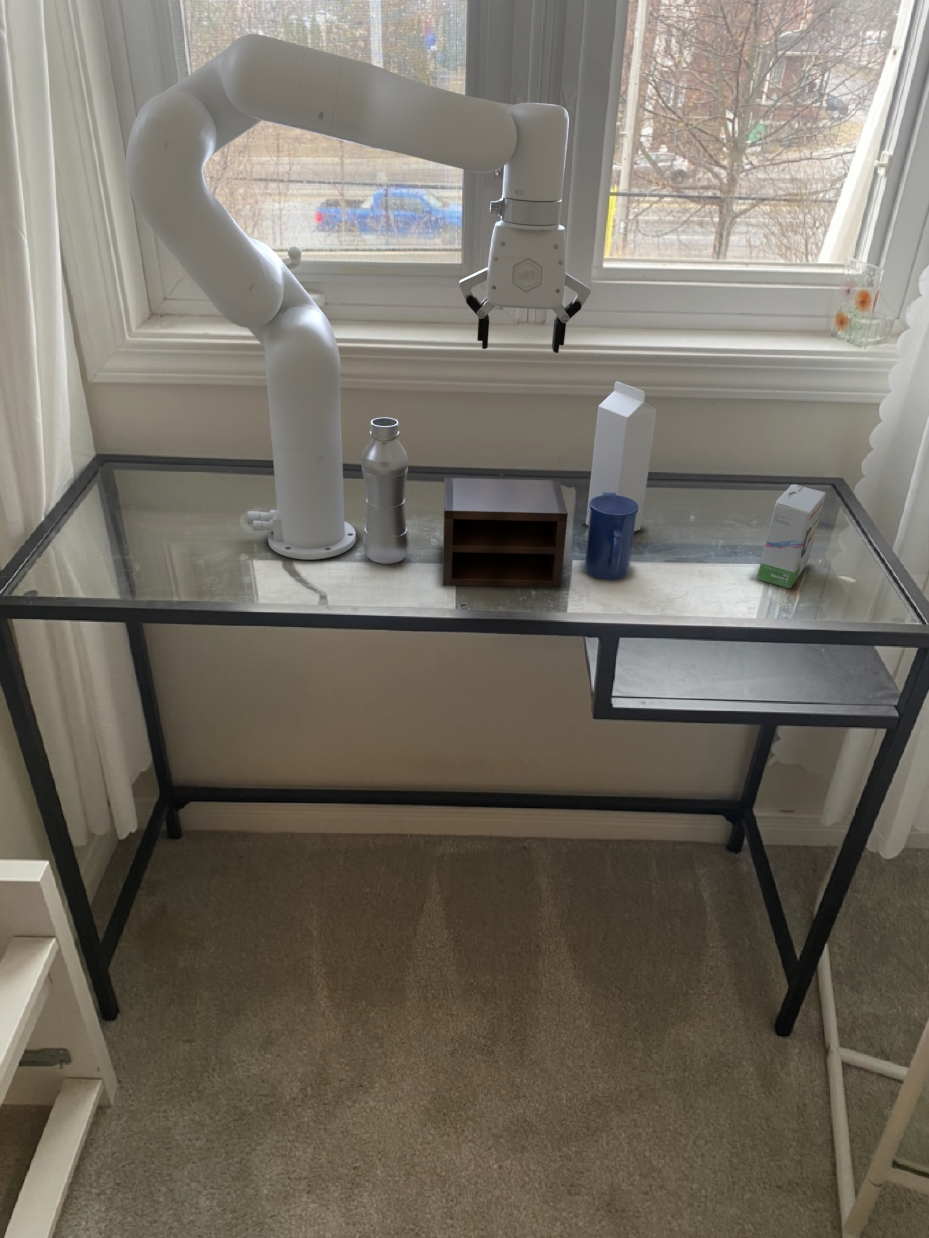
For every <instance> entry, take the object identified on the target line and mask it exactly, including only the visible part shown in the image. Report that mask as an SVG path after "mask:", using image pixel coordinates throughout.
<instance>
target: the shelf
mask: <svg viewBox="0 0 929 1238" xmlns="http://www.w3.org/2000/svg"><path fill="white" fill-rule="evenodd" d="M443 486H444V487H443V488H444V489H443V528H442V529H443V532H442V533H443V534H442V586H469V587H470V586H474V587H476V586H477V587H478V586H479V587H521V588H523V587H524V588H525V587H527V588H528V587H530V588H561V587H562V580H563V579H562V578H563V569H564V557H565V547H566V546H565V545H566V536H567V524H568V515H569V513H568V509H567V505H566V501H565V498H564V493H563V490H562V489H563V488H562V485H561V482H560V480H558V479H557V480H553V479H552V480H551V479H511V478H509V479H508V478H503V479H502V478H472V477H471V478H470V477H469V478H468V477H467V478H466V477H444V484H443Z"/></svg>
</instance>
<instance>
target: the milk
mask: <svg viewBox="0 0 929 1238" xmlns="http://www.w3.org/2000/svg"><path fill="white" fill-rule="evenodd" d="M645 399H646V392H645V390H642V389H641V388H640V389H639V388H636V387H634V386H631V385H629V384H626V383H623V382H620V381H618V380H617V381H616V380H615V382H614V388H613V391H612V392H611V393H610V394H609V395H608V396H607V397H606V398H605V399H604V400H603V401H601V403H599V405H598V407H597V414H596V422H595V423H596V424H595V433H594V444H593V451H592V452H593V454H592V461H591V462H592V464H591V472H590V479H589V490H588V500H587V510H586V517H585V518H586V520H585V525H586V526H588V527H589V518H590V507H589V504H590V500H591V499H592V498H594V497H597V496H601V495H603V492H604V493H616V495H619V496H624V497H627V498H630V499H632V500H634V501H635V502H636V503H637V504H638V506H639V508H638V513H637V514H636V520H635V527H634V532H637V531H639V530H641V528H642V527H641V526H642V521H643V520H642V519H643V512H644V506H645V499H646V491H647V485H648V484H647V483H648V478H649V477H648V476H649V468H650V463H651V462H650V461H651V454H652V450H653V449H652V447H653V441H654V434H655V428H656V427H655V426H656V419H657V412H658V411H657V409H656V408H654V407H653V406H651V405H649V404H648V403H647V402H645Z"/></svg>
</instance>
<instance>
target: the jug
mask: <svg viewBox="0 0 929 1238" xmlns="http://www.w3.org/2000/svg"><path fill="white" fill-rule="evenodd" d="M589 507H590V518H589V526H588V528H587V537H586V547H585V556H584V564H583V565H584V566H583V569H584V572H586V574H587V575H589V576H591V577H593V578H595V579H600V580H603V581H617V580H620V579H621V580H622V579H624V578H626V577H627V576H628V574H629V572H630V563H631V556H632V548H633V542H634V533H635V531H634V527H635V520H636V514H637V513H638V508H639V506H638V504H637V503H636V502H635V501H634V500H632V499H630V498H627V497H624V496H619V495H616V493H604V492H603V495H601V496H597V497H594V498H592V499H591V500H590V504H589Z"/></svg>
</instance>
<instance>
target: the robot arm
mask: <svg viewBox="0 0 929 1238" xmlns="http://www.w3.org/2000/svg"><path fill="white" fill-rule="evenodd" d="M262 121H263V122H267V123H271V124H274V125H279V126H283V127H287V128H291V129H295V130H296V129H297V130H300V131H305V132H308V133H313V134H316V135H321V136H325V137H328V138H332V139H336V140H340V141H343V142H348V143H352V144H356V145H360V146H362V147H367V148H370V149H375V150H382V151H387V152H388V151H389V152H392V153H398V154H402V155H404V156H405V155H406V156H409V157H413V158H416V159H420V160H424V161H428V162H433V163H437V164H440V165H445V166H449V167H452V168H457V169H460V170H465V171H468V172H471V173H472V172H473V173H478V174H489V173H493V172H497V171H498V170H500V169H502V168H503V179H502V195H501V198H499V200H496V201H493V200H492V201H490V206H489V207H490V208H489V213H490V214H495V215H498V217H500V220H499V221H496V222H495V223H494V227H493V230H492V235H491V241H490V248H489V253H488V259H487V267H485V268H483V269H481V270H479V271H477V272H475V273H473V274H471V275H469V276H466V277H465V278H462V279H461V280H459V283H458V285H459V289H460V291H461V293H462V296H463V298H464V300H465V302H466V304H467V306H468V307H469V308H470V309H471V310H472V312H473V313H474V314H475V315H476V316H477V319H478V320H477V321H478V322H477V323H478V324H477V339H476V340H477V342H481V349H482V350H487V349H488V347H489V332H490V331H489V330H490V315H489V313H490V312H492V310H493V309H494V308H495V307H499V308H511V309H513V308H514V309H531V310H552V311H553V312H554V314H555V315H556V317H555V318H554V320H553V329H552V340H551V341H552V342H551V348H552V352H554V354H559V352H560V346H564V345H565V337H566V330H567V329H566V328H567V323H569V321H570V319H572V318H573V317H574V316H575V315H576V314H577V313H579V311H581V309H582V307H583V305H584V304H585V302H586V301H587V299H589V296H590V295H591V288H590V286H588V285H586V284H585V283H583V282H582V281H580V280H578V279H577V278H575V277H573V276H572V275H571V274H569V273H567V271H566V270H567V269H566V268H567V235H566V233H567V232H566V228H565V227H564V226H563V225H561V224H560V221H561V211H562V202H563V190H564V179H565V170H566V169H565V168H566V159H567V158H566V157H567V147H568V136H569V126H570V124H569V123H570V116H569V112H568V111H567V109H566V108H565V107H563V106H561V105H558V104H552V103H541V102H519V103H516V104H512V103H504V102H498V101H493V100H489V99H484V98H481V97H474V96H471V95H467V94H462V93H459V92H455V91H451V90H448V89H444V88H440V87H436V86H433V85H429V84H426V83H422V82H419V81H416V80H413V79H409V78H408V77H407V78H406V77H404V76H402V75H399V74H396V73H394V72H392V71H390V70H388V69H385V68H383V67H380V66H378V65H375V64H371V63H368V62H365V61H361V60H357V59H353V58H350V57H346V56H342V55H338V54H334V53H330V52H327V51H323V50H319V49H315V48H311V47H308V46H304V45H301V44H297V43H294V42H289V41H287V40H282V39H278V38H276V37H271V36H268V35H267V36H266V35H264V34H263V35H262V34H258V33H249V34H245V35H242V36H240V37H238V38H237V39H235V40H234V41H233V42H232V43H231V44H230V45H229V46H228V47H226V48H225V49H224V50H223V51H221V52H220V53H219V54H218V55H216V56H215V57H213V58H212V59H211V60H209V61H208V62H206V63H205V64H204V65H202V66H201V67H199V68H197V69H196V70H194V71H193V72H191V73H190V74H188V75H187V76H186V77H184V78H183V79H181V80H180V81H178V82H176V83H175V84H173V85H172V86H171V87H169V88H167V89H165V90H164V91H163V92H161V93H159V94H155V96H153V97H151V98H150V99H148V100H147V102H145V103H144V105H142V107H141V108H140V110H139V112H138V114H137V116H136V117H135V120H134V122H133V124H132V127H131V130H130V134H129V137H128V141H127V146H126V152H125V172H126V178H127V184H128V187H129V191H130V194H131V196H132V197H131V198H132V199H133V201H134V203H135V205H136V207H137V210H138V212H139V213H140V214H141V217H142V218H143V219H144V220H145V222H146V224H147V225H148V226H149V227H150V229H151V230H152V231H153V233H154V234H155V235H156V236H157V237H158V239H159V240H160V241H161V242H162V244H163V245H164V246H165V247H166V249H167V250H168V251H169V252H170V253H171V254H172V256H173V257H174V258H175V260H176V261H177V262H178V263H179V265H180V266H181V267H182V268H183V270H185V272H186V273H187V275H189V277H190V278H191V279H192V280H193V282H195V284H196V286H198V288H199V289H200V290H201V291H202V292H203V294H205V296H206V297H207V298H208V299H209V301H210V302H211V304H212V305H213V306H214V308H215V309H216V310H217V311H218V313H220V314H221V316H222V317H224V318H225V320H227V321H229V322H230V323H232V324H233V325H236V326H239V327H241V328H246V329H248V330H249V332H250V333H251V334H252V335H253V336H254V337H255V339H256V340H257V341H258V342H259V343H260V345H262V347H263V348H264V364H265V365H264V366H265V367H264V369H265V379H266V389H267V391H266V392H267V400H268V401H267V402H268V413H269V425H270V426H269V427H270V439H271V446H272V447H271V448H272V449H271V450H272V461H273V462H272V463H273V474H274V476H273V477H274V488H275V503H276V509H270V510H269V511H267V512H266V511H258V510H257V511H251V510H249V511H247V516H246V519H247V525H249V526H250V525H252V530H253V531H262V532H263V531H269V532H268V534H267V543H268V545H269V547H270V549H272V551H274V552H275V553H277V554H279V555H281V556H284V557H286V558H291V559H295V560H311V561H312V560H322V559H329V558H332V557H336V556H339V555H342V554H344V553H345V552H347V551H349V550H350V549H351V548H353V547H354V545H355V544H356V541H357V534H356V533H357V532H356V529H355V527H353V526H352V524H350V523H349V522H347V521H345V498H344V497H345V496H344V495H345V494H344V470H343V469H344V467H343V439H342V410H341V409H342V408H341V407H342V406H341V401H342V400H341V399H342V398H341V394H342V392H341V391H342V390H341V389H342V367H341V366H342V365H341V357H340V349H339V347H338V341H337V339H336V337H335V331H334V330H333V327H332V325H331V323H330V321H329V319H328V318H327V316H326V314H324V312H323V311H322V310H321V308H320V306H318V304H317V302H315V300H314V299H313V298H312V297H311V296H310V294H309V293H308V291H306V289H305V288H304V287H303V285H302V284H301V283H300V281H299V280H298V279H297V278H296V277H295V275H294V274H293V273H292V272H291V270H290V269H289V268H288V267H287V265H286V264H285V263H284V262H283V260H282V258H280V257H279V256H278V254H277V253H276V252H275V251H274V250H273V249H272V248H271V247H270V246H268V245H267V244H265V243H264V242H262V241H260V240H258V239H256V238H252V237H248V235H247V234H246V233H245V232H244V230H243V229H242V228H241V227H240V226H239V225H238V223H237V222H236V220H235V219H234V218H233V216H232V215H231V214H230V213H229V211H228V209H227V208H226V207H225V206H224V205H223V204H222V203H221V201H220V200H219V199H218V198H217V197H216V196H215V195H214V194H213V192H212V191H211V189H210V188H209V186H208V184H207V182H206V179H205V175H204V169H205V166H206V163H207V162H208V160H209V159H210V158H211V157H212V156H214V154H216V153H217V152H219V151H220V150H221V149H223V148H225V147H226V146H227V145H229V144H230V143H232V142H234V141H235V140H237V139H238V138H240V137H241V136H243V135H244V134H246V133H247V132H248V131H250V130H251V129H253V128H254V127H255V126H256V125H258V124H260V123H261V122H262ZM484 282H485V285H486V287H485V293H486V297H485V298H484V299H483V300H482V301H481V302H480V300H479V299H478V298H477V297H476V295H475V294H474V292H473V290H472V289H473V287H475V286H477V285H479V284H482V283H484ZM565 286H566V287H567V288H569V289H571V290H572V291H574V292H575V293H576V295H575V296H574V299H573V300H572V301H571V302H570V303H569V304H567V305H566V306H564V305H563V302H564V297H565Z"/></svg>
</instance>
